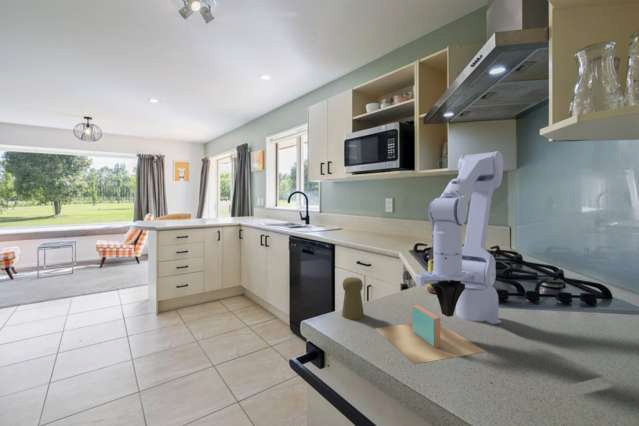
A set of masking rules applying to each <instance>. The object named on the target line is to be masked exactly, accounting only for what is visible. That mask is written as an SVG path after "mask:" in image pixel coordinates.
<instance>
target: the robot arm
mask: <svg viewBox="0 0 639 426" xmlns="http://www.w3.org/2000/svg"><path fill="white" fill-rule="evenodd" d="M457 172H458V175H457V177H456V178H452V179H451V180H450V181H449V182H448V184H447V186H446V187H445V189H444V191H443V192H442V194H441V195H440V196H439V197H436V198H434V199H433V200H432V201H430V203H429V207H428V212H427V215H428V219H429V223H430V229H431V232H433V233H432V236H433V237H432V247H433V271H431V272H428V271H427V272H424V273H418V274H415V284H416V285H419V286H420V287H421V286H425V285H427V284H431V286H432V287H433V289H434V291H435V293H436V294H435V293H434V294H435V295H436V298H437V299H438V300H437V301H438V303H439V308H440V310H441V314H442V315H444V316H446V317H447V318H449V317H454V314H455V315H456V316H457V317H458V318H461V319H462V320H463V319H464V320H466V321H472V322H484V321H486V322H488V323H490V324H493V325H497V324H502V321H501V320H500V319H499V295H498V291H497V290H496V288H495V287H494V284H495V282H496V275H497V272H496V271H497V269H496V259H495V257H494V255H492V253H490V252H489V251H488V250H486V249H485V248H486V243H487V242H486V241H487V234H488V226H489V221H490V220H489V219H490V218H489V217H490V211H491V205H492V204H491V203H492V196H493V193H494V190H496V188H498V187H500V186H501V185H502V181H503V173H504V157H503V154H502V152H501V151H500V150H495V151H493V152H491V151H490V152H483V153H476V154H475V153H474V154H462V155H461V156H460V157H459V159H458V161H457ZM469 202H470V205H469V206H468V204H469ZM468 210H469V211H468ZM467 213H468V215H467ZM467 216H468V218H467ZM466 220H467V224H466V230H465V231H466V232H465V239H464V244H463V224H464V223H465V222H466ZM455 312H456V313H455Z"/></svg>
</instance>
